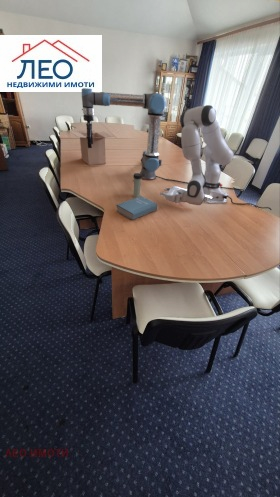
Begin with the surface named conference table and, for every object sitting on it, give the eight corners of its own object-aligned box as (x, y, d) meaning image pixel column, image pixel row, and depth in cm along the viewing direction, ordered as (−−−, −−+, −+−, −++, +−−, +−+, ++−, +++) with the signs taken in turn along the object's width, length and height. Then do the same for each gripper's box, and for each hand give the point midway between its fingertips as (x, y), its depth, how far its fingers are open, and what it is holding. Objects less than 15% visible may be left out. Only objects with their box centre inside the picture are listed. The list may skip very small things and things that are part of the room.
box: (116, 165, 229) (116, 136, 213) (83, 168, 214) (80, 137, 198) (102, 154, 259) (101, 128, 243) (71, 156, 244) (68, 129, 228)
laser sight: (160, 166, 235) (161, 156, 229) (139, 164, 238) (140, 154, 232) (161, 164, 243) (162, 154, 237) (141, 161, 246) (142, 152, 240)
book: (140, 202, 160) (141, 196, 157) (157, 210, 151) (157, 203, 148) (116, 211, 147) (116, 204, 144) (132, 220, 138) (133, 213, 135)
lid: (133, 179, 159) (134, 175, 157) (132, 176, 163) (133, 173, 162) (142, 179, 160) (142, 175, 158) (141, 176, 164) (141, 173, 163)
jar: (133, 197, 167) (134, 176, 158) (132, 194, 171) (133, 173, 162) (140, 197, 168) (141, 176, 159) (139, 194, 172) (140, 173, 163)
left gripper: (84, 112, 170) (87, 142, 182) (81, 116, 150) (84, 149, 163) (94, 112, 171) (96, 142, 183) (92, 116, 151) (94, 149, 163)
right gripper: (185, 186, 161) (167, 182, 165) (178, 195, 146) (158, 191, 150) (183, 194, 165) (166, 190, 169) (176, 204, 150) (157, 199, 153)
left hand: (90, 146), depth 173 cm, fingers open, 13 cm apart
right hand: (162, 190), depth 159 cm, fingers open, 8 cm apart
